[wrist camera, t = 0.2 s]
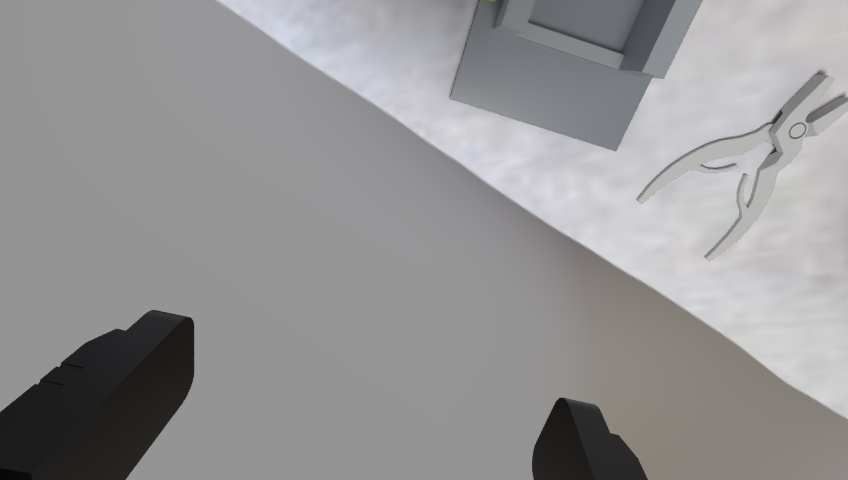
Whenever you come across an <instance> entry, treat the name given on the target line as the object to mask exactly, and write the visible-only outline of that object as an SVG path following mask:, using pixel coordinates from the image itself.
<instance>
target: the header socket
mask: <svg viewBox="0 0 848 480" xmlns="http://www.w3.org/2000/svg"><path fill="white" fill-rule="evenodd" d="M702 1H703V0H480V1H479V4H478V7H477V11H476V14H475V17H474V20H473V24H472V27H471V30H470V34H469V37H468V40H467V43H466V47H465V50H464V53H463V57H462V60H461V63H460V66H459V70H458V73H457V76H456V79H455V83H454V86H453V89H452V93H451V96H450V99H452V100H455V101H458V102H461V103H465V104H468V105H471V106H474V107H477V108H480V109H484V110H487V111H490V112H493V113H496V114H499V115H503V116H506V117H509V118H512V119H515V120H518V121H522V122H525V123H528V124H531V125H534V126H537V127H541V128H544V129H547V130H550V131H553V132H556V133H559V134H563V135H566V136H569V137H572V138H575V139H578V140H582V141H585V142H588V143H591V144H594V145H597V146H601V147H604V148H607V149H610V150H613V151H617V149H618V147H619V145H620V142H621V140H622V138H623V136H624V134H625V132H626V130H627V128H628V126H629V124H630V122H631V120H632V118H633V116H634V114H635V112H636V110H637V108H638V105H639V103H640V101H641V99H642V97H643V95H644V93H645V91H646V89H647V87H648V85H649V83H650V81H651V79H652V78H660V79H664V77H665V75H666V73H667V71H668V69H669V67H670V65H671V63H672V61H673V59H674V57H675V55H676V53H677V51H678V49H679V47H680V45H681V43H682V41H683V39H684V37H685V35H686V33H687V31H688V29H689V27H690V25H691V23H692V21H693V19H694V17H695V15H696V13H697V11H698V9H699V7H700V5H701V3H702Z"/></svg>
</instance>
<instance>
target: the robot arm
mask: <svg viewBox="0 0 848 480" xmlns="http://www.w3.org/2000/svg"><path fill="white" fill-rule="evenodd" d="M193 377H194V322H193V320H192V319H191V318H190V317H186V316H181V315H176V314H171V313H167V312H161V311H157V310H151V311H149V312H147V313H146V314H145V315H143V316H142V317H141V318H140V319H139V320H138V321H137V322H136V323H134V324H133V325H132V326H131V327H130V328H129V329H127V330H126V331H125V330H120V329H115V330H112V331H111V332H108V333H106V334H104V335H102V336H99V337H97V338H95V339H93V340H91V341H89V342H86V343H85V344H84V345H82V346H81V347H80V348H79V349H78V350H76V351H75V352H74V353H73V354H71V355H70V356H69V357H68V358H66V359H65V360H64V361H63V362H61V365H60V367H55V368H54V369H53V370H52V371H50V372H49V373H48V374H47V375H46V376H44V377H43V378H42V379H41V380H40V383H39V384H38V385H37V384H35V385H33V386H32V387H31V388H30V389H28V390H27V391H26V392H25V393H23V394H22V395H21V396H20V397H18V398H17V399H16V400H15V401H13V402H12V403H11V404H10V405H9V406H7V407H6V408H5V409H4V410H2V411H1V412H0V480H126V478H127V477H128V476H129V474H130V473H131V471H132V470H133V469H134V467H135V466H136V465H137V463H138V462H139V461H140V459H141V458H142V457H143V455H144V454H145V453H146V451H147V450H148V449H149V447H150V446H151V445H152V443H153V442H154V441H155V439H156V438H157V437H158V435H159V434H160V433H161V431H162V430H163V429H164V427H165V426H166V425H167V423H168V422H169V420H170V419H171V418H172V416H173V415H174V414H175V412H176V411H177V410H178V408H179V407H180V406H181V405H182V403H183V401H184V400H185V398H186V397H187V395H188V392H189V390H190V387H191V384H192V382H193ZM532 472H533V477H534V480H648V479H647V477H646V475H645V473H644V471H643V468H642V466H641V464H640V462H639V460H638V458H637V457H636V456H635V454H634V453H633V452H632V451H631V450H630V448H629V447H628V446H627V445H626V444H625V442H624V441H623V440H622V439H621V438H620V436H619V435H616V434H611V433H610V432H609V429H608V427H607V425H606V422H605V420H604V418H603V415H602V413H601V411H600V409H599V408H598V407H597V406H596V405H594V404H590V403H585V402H581V401H576V400H571V399H566V398H559V399H558V400H557V401H556V403H555V405H554V407H553V409H552V411H551V413H550V415H549V417H548V419H547V421H546V423H545V425H544V427H543V429H542V431H541V434H540V436H539V438H538V440H537V442H536V444H535V447H534V451H533V458H532Z"/></svg>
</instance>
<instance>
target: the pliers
mask: <svg viewBox="0 0 848 480" xmlns="http://www.w3.org/2000/svg"><path fill="white" fill-rule="evenodd" d="M834 80H835V78H833V77H831V76H828V75H814V76H813V77H812V78H811V79H810V80H809V81H808V82H807V83H806V84H805V85H804V86H803V87H802V88H801V89H800V90H799V91H798V92H797V93H796V94H795V95H794V96H793V97H792V98H791V99H790V100H789V101H788V102H787V103H786V105H785V106H784V107H783V108H782V109H781V111H782V112H783V114H782V115H781V116H780V118H779V119H778V120H777V122H776V123H772V124H765V125H764V126H762V127H760V128H759V129H757V130H756V131H754V132H752V133H749V134H746V135H743V136H740V137H735V138H728V139H721V140H717V141H714V142H711V143H708V144H706V145H704V146H701V147H699V148H697V149H695V150H693V151H691V152H690V153H688V154H686V155H684V156H683V157H681V158H680V159H678V160H676V161H675V162H673V163H672V164H671V165H669V166H668V167H667V168H666V169H664V170H663V171H662V172H661V173H660V174H659V175H657V176H656V177H655V178H654V179H653V180H652V181H651V182H650V183H649V184H648V186H647V187H646V188H645V189H644V190H643V192H642V193H641V194H640V195H639V197H638V198H637V199H636V200H637V201H638V202H640V203H641V204H643V203H644V202H645V201H646V200H647V199H649V198H650V197H651V196H652V195H654V194H655V193H656V192H658V191H659V190H660V189H662V188H663V187H664V186H666V185H667V184H668V183H670V182H671V181H673V180H674V179H676V178H678V177H679V176H681V175H682V174H684V173H686V172H688V171H700V172H704V173H721V172H726V171H729V170H733V169H736V168H738V166H737V165H736V164H733V165H729V166H726V167H722V168H717V169H712V168H705V167H703V166H701V164H703V163H706V162H708V161H710V160H715V159H719V158H724V157H730V156H736V155H742V154H744V153H746V152H747V151H749V150H751V149H752V148H754V147H756V146H757V145H759V144H761V143H762V142H764V141H766V142H769V143H771V144H773V145H775V148H776V150H777V152H775V153H773V154H771V155H769V156H767V158H766V159H765V160H764V162H763V163H762V164H761V166H760V167H759V168H758V170H757V174H756V178H755V182H754V187H753V190H752V194H751V197H750V199H749V201H748V203H747V205H746V204H745V203H744V197H743V192H744V188H745V184H746V182H747V179H748V177H749V176H748V175H745V174H743V175H742V178H741V180H740V183H739V186H738V189H737V205H738V208H739V218H738V219H737V220H736V222H735V223H734V224H733V226H732V227H731V228H730V229H729V231H728V232H727V233H726V234H725V235H724V237H723V238H722V239H721V240H720V241H719V242H718V243H717V244H716V245H715V246H714V247H713V248H712V249H711V250H710V251H709V252H708V253H707V254H706V255H705V256H704V257H705V258H706V259H707V260H708V261H711V260H713V259H714V258H716V257H717V256H719V255H720V254H722V253H723V252H724V251H726V250H727V249H728V248H730V247H731V246H732V245H733V244H734V243H736V242H737V241H738V240H739V239H740V238H741V237H742V236H743V235H744V234H745V233H746V232H747V231H748V230H749V228H750V227H751V226H752V225H753V224H754V222H755V221H756V220H757V218H758V217H759V215H760V214H761V213H762V211H763V210H764V208H765V206H766V205H767V203H768V201H769V199H770V197H771V195H772V192H773V190H774V187H775V182H776V177H777V173H778V172H779V171H780V170H782V169H783V168H784V167H785V166H787V165H788V164H789V163H790V162H792V160H793V159H794V158H795V157H796V155H797V154H798V153H799V152H800V150H801V147H802V139H803V138H804V137H808V136H817V135H819V134H820V133H821V132H822V131H824V130H825V129H826V128H827V127H829V126H830V125H831V124H832V123H834V122H835V121H836V120H837V119H839V118H840V117H841V116H842V115H844V114H845V113H846V112H847V111H848V98H843V97H839V98H837V99H835V100H834V101H832V102H830V103H829V104H827V105H825V106H824V107H822V108H820V109H819V110H817V111H816V112H814V113H812V114H811V115H809V116H808V114H809V113H810V112H811V110H812V109H813V108H814V106H815V105H816V104H817V102H818V101H819V100H820V99H821V97H822V96H823V95H824V93H825V92H826V91H827V89H828V88H829V87H830V85H831V84H832V83H833V81H834Z"/></svg>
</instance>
